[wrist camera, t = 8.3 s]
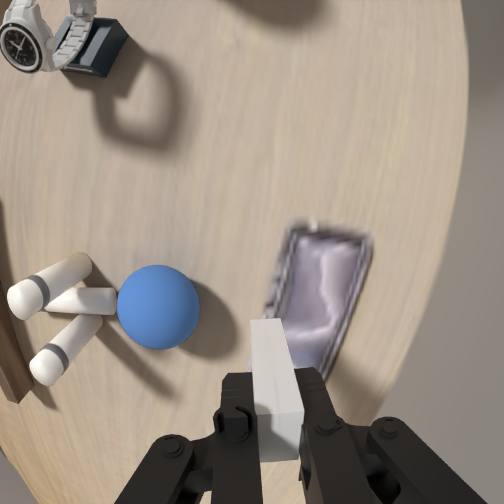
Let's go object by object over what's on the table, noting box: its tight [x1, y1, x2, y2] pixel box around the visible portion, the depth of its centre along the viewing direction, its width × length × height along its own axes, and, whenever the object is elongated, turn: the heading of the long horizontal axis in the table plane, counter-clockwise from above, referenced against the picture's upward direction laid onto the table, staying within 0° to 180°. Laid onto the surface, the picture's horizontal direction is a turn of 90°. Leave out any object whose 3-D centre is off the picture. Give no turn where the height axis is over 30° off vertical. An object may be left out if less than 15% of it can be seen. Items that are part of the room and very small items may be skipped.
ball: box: [117, 265, 200, 350], centre depth 20 cm, size 6×6×6 cm
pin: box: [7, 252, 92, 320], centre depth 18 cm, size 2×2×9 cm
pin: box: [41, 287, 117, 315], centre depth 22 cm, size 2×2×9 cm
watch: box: [0, 0, 128, 78], centre depth 13 cm, size 6×8×11 cm
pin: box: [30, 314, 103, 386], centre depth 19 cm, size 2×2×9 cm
